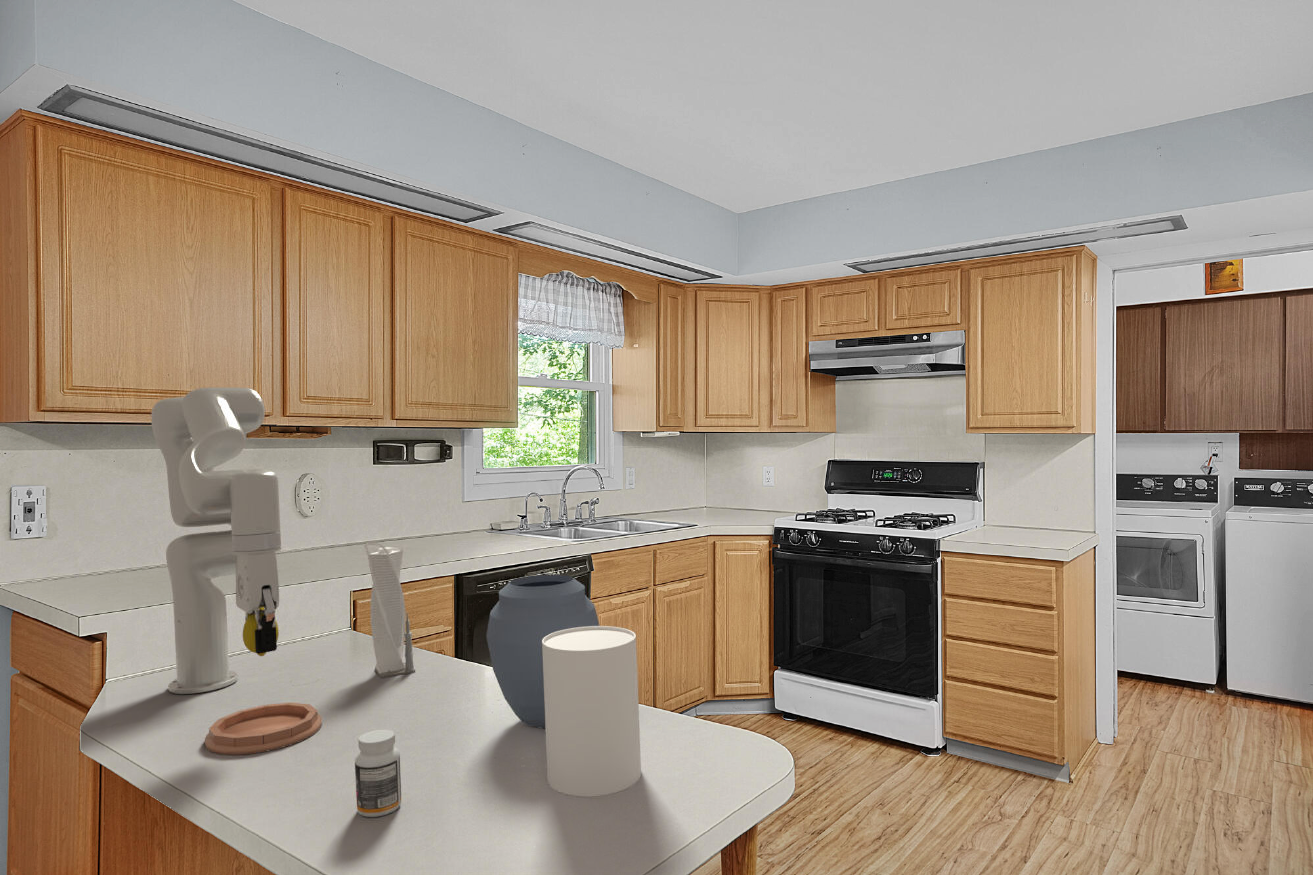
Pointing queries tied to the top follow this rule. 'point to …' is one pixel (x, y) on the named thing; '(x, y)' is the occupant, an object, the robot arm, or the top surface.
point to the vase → (532, 636)
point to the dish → (262, 728)
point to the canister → (591, 710)
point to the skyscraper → (389, 613)
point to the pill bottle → (377, 774)
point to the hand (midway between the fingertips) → (261, 647)
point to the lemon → (253, 633)
